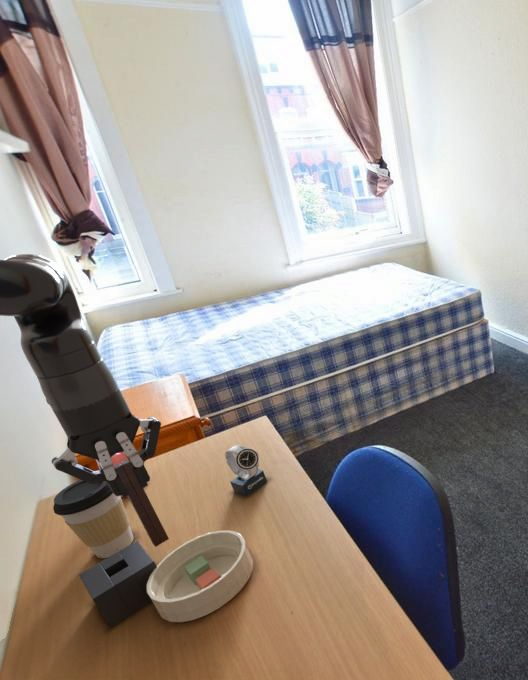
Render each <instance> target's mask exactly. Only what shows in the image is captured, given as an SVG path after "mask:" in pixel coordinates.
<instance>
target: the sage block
mask: <svg viewBox="0 0 528 680" xmlns="http://www.w3.org/2000/svg"><path fill="white" fill-rule="evenodd" d="M184 568H185V570H186V572H187V574H188V576H189V578H190V579H191V580H192V582H193V583H194V584H195V585H196V586H197V583H196V581H195V579H197V578H198V577H200V576H201V575H203V574H204V573H206V572H207V571H208V570H210V569H211V568H210V566H209V563H208V562H207V561H206V560H205V559H204V558H203V557H202V556H200V557H198V558H197V559H195V560H194V561H192V562H191V563H189V564H187V565H186V566H184Z"/></svg>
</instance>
